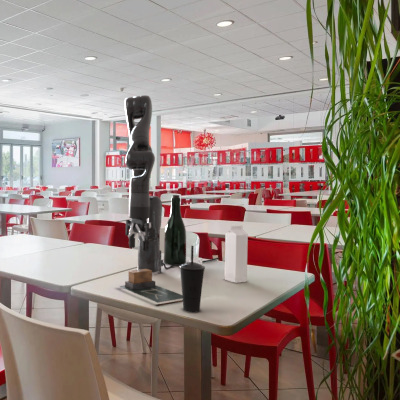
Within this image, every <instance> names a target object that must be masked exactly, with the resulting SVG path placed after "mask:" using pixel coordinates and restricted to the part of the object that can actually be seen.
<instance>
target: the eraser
mask: <svg viewBox="0 0 400 400" xmlns="http://www.w3.org/2000/svg"><path fill="white" fill-rule="evenodd" d="M124 285H125V287H127V288H129V289H132V290H137V289H144V288H151V287H155V285H156V281H155V280H153V272H152V270H149V269H140V270H138V269H132V270H131V269H130V270H128V280H127V281H126V280H125V281H124Z"/></svg>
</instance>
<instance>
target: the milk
mask: <svg viewBox="0 0 400 400" xmlns="http://www.w3.org/2000/svg"><path fill="white" fill-rule="evenodd" d="M248 238H249V235H248V233H247V232H246V231H245V230H244V229H243V225H231V226H230V230H229V231H227V232H225V238H224V239H225V240H224V280H225V281H227V282H231V283H233V284H238V283H246V282H247V281H248V248H249V247H248V244H249V242H248V241H249V239H248Z"/></svg>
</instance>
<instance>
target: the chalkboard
mask: <svg viewBox="0 0 400 400" xmlns="http://www.w3.org/2000/svg"><path fill="white" fill-rule="evenodd" d="M118 287H119V288H122V289H124V290H127V291H128V292H131V293H134V294H136V295H139V296H141V297H142V298H146V299H147V300H150V301H152V302H155V303H157V304H155V306H156V307H159V306H165V305H166V306H167V305H172V304H177V303H183V297H182V293H181V294H180V293H178V292H176V291H173V290H170V289H167V288H164V287H162V286H158V285H156V284H155V287H151V288H144V289H137V290H132V289H129V288H127V287H125V284H124V285H119V286H118ZM180 299H181V300H180Z"/></svg>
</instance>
